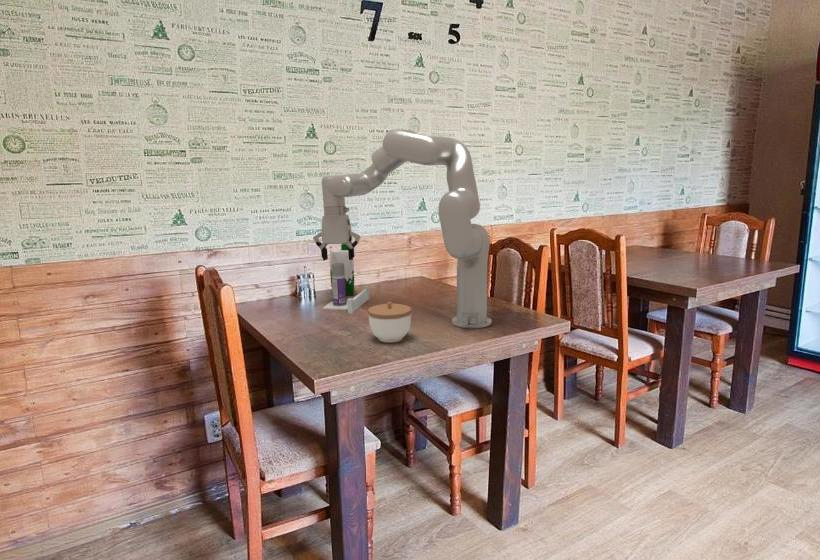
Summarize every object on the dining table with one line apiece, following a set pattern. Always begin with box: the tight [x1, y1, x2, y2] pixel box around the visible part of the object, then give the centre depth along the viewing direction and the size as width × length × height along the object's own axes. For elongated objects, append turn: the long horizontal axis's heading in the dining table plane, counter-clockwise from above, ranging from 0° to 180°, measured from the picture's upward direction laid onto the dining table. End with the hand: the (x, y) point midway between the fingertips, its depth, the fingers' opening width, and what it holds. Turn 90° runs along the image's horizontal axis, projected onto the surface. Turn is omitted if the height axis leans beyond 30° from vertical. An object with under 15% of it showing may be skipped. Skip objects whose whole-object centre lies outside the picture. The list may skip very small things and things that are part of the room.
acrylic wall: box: [346, 285, 370, 315], centre depth 200 cm, size 22×2×5 cm, turn 168°
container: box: [331, 263, 347, 307], centre depth 199 cm, size 5×5×15 cm
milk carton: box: [329, 243, 355, 297], centre depth 217 cm, size 9×9×20 cm
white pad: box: [322, 300, 348, 311], centre depth 200 cm, size 9×9×1 cm
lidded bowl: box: [367, 301, 412, 344], centre depth 161 cm, size 13×13×11 cm
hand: (338, 259), depth 197 cm, fingers open, 9 cm apart
